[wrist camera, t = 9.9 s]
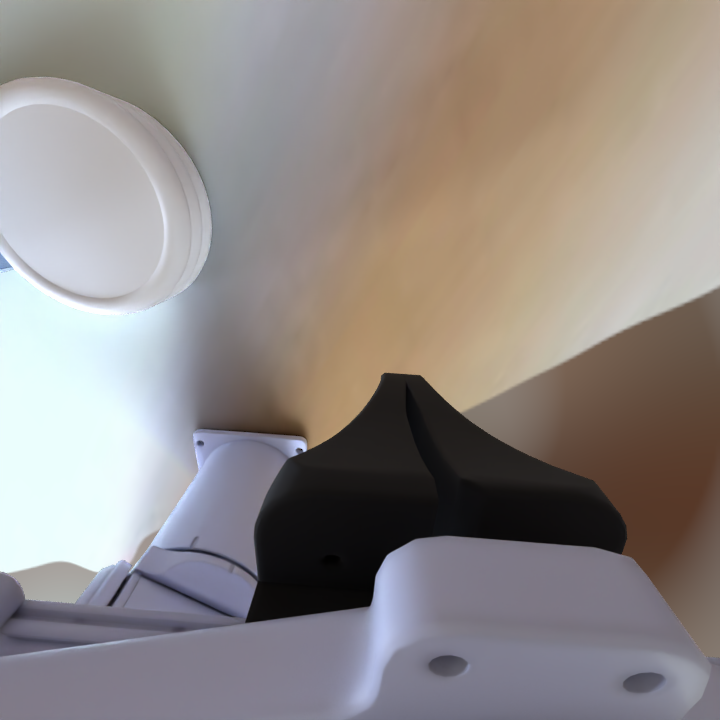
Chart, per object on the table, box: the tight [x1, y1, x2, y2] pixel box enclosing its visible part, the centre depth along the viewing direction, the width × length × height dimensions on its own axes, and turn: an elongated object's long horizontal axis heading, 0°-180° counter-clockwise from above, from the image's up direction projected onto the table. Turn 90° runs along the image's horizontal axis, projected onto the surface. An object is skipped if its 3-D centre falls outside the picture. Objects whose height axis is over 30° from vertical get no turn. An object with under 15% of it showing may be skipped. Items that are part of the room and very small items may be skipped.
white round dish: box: [0, 77, 212, 315], centre depth 17 cm, size 10×10×4 cm
